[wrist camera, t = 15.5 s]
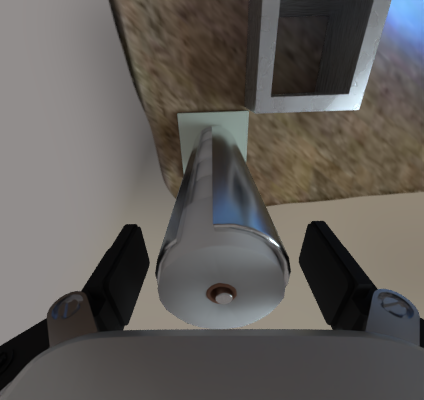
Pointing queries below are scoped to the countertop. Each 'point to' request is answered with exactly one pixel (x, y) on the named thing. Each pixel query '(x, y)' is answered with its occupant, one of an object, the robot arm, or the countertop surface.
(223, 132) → the silver tall cylinder
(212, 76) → the countertop surface
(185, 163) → the mat
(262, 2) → the housing
